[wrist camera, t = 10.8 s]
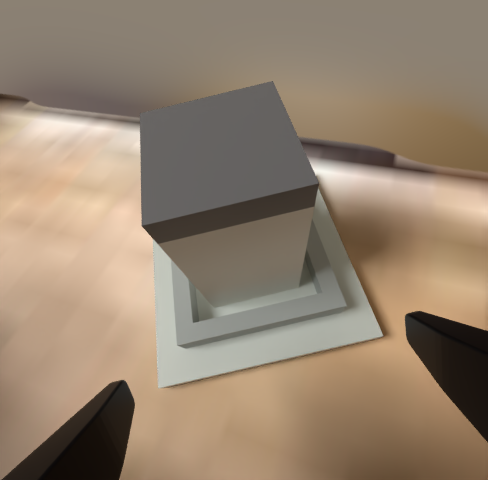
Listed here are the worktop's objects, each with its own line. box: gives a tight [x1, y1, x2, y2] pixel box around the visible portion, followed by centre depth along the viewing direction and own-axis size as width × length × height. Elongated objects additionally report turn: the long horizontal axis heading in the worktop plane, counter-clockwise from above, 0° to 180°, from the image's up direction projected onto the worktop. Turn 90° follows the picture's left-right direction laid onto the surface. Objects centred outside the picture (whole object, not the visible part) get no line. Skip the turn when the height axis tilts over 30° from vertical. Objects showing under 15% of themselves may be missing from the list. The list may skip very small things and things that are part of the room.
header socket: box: [153, 189, 383, 388], centre depth 18 cm, size 13×13×2 cm
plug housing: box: [140, 81, 319, 308], centre depth 14 cm, size 6×6×10 cm
